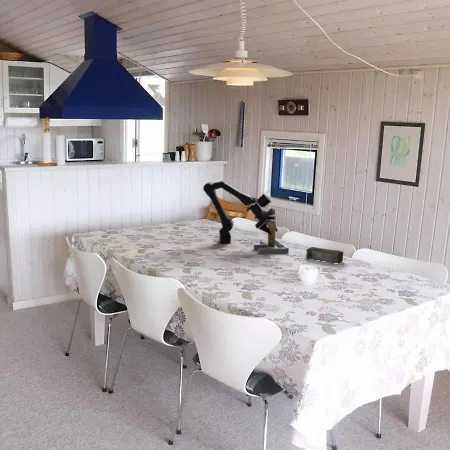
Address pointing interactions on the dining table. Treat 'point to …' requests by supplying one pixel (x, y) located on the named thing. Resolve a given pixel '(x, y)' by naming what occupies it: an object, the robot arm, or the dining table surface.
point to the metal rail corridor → (264, 248)
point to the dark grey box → (324, 255)
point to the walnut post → (272, 237)
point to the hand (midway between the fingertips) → (274, 232)
